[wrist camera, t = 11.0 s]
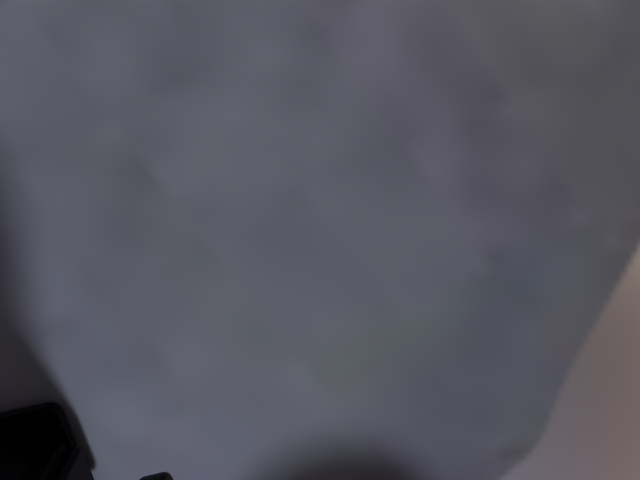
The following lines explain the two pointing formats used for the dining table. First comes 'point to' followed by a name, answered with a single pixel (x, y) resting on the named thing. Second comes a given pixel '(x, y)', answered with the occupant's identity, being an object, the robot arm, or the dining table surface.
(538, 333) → the dining table surface
